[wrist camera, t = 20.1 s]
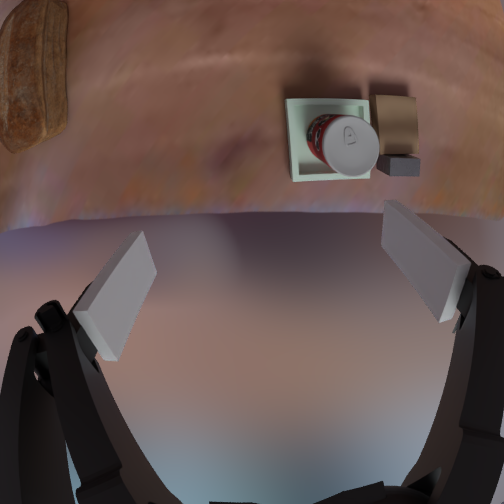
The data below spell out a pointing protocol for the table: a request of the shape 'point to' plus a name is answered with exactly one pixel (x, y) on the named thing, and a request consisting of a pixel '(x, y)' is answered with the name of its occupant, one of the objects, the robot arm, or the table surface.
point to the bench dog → (398, 164)
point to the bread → (33, 74)
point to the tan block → (395, 123)
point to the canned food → (343, 143)
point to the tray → (298, 121)
